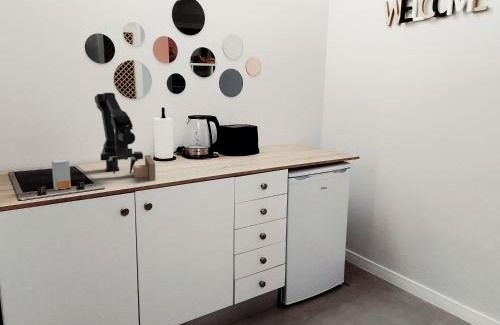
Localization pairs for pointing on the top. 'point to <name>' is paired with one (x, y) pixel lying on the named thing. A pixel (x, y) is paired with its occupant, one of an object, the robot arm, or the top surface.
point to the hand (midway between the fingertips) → (122, 173)
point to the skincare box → (61, 174)
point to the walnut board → (150, 167)
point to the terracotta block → (140, 171)
